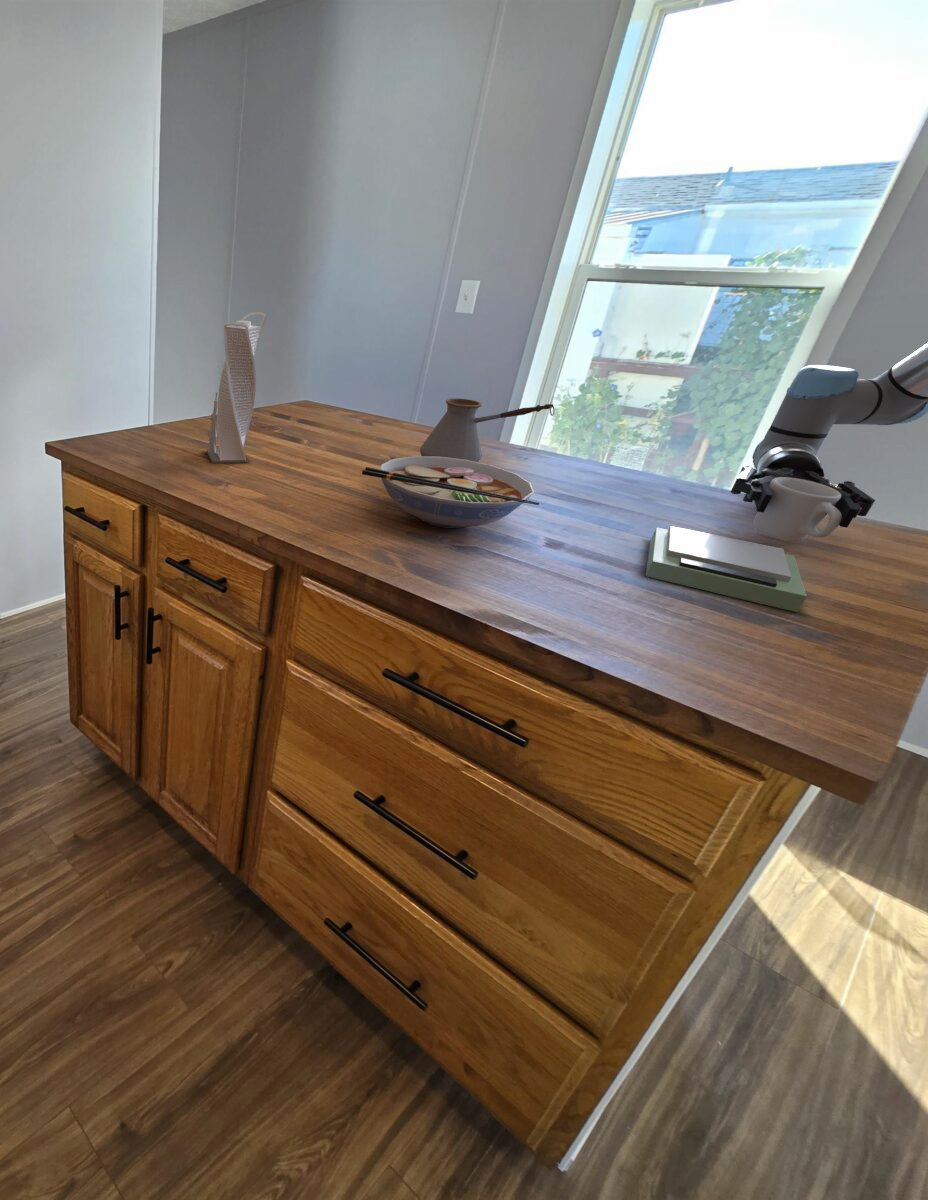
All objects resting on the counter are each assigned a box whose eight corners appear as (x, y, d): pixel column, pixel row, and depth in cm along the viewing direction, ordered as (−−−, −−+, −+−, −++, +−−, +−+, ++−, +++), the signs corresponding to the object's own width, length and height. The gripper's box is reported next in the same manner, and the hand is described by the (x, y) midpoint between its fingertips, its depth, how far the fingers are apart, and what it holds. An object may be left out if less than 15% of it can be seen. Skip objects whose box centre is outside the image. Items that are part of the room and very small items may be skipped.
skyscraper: (245, 452, 140) (260, 309, 126) (254, 464, 133) (271, 314, 119) (206, 452, 139) (217, 309, 125) (213, 464, 132) (225, 314, 118)
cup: (841, 556, 96) (876, 506, 92) (789, 554, 96) (822, 504, 92) (778, 524, 105) (808, 477, 101) (731, 522, 105) (758, 475, 101)
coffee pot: (407, 465, 133) (425, 390, 125) (430, 454, 140) (448, 381, 133) (520, 492, 120) (547, 410, 113) (538, 478, 127) (565, 399, 120)
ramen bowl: (534, 515, 111) (550, 468, 107) (518, 564, 94) (536, 511, 90) (384, 485, 122) (393, 442, 118) (346, 524, 106) (355, 476, 102)
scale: (785, 570, 93) (796, 550, 92) (797, 612, 83) (810, 590, 81) (650, 541, 102) (658, 522, 100) (645, 576, 91) (654, 555, 90)
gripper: (863, 507, 107) (893, 553, 91) (700, 480, 118) (702, 517, 102) (889, 462, 103) (926, 502, 87) (719, 438, 114) (724, 470, 98)
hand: (805, 510), depth 95 cm, fingers closed on cup, 8 cm apart
